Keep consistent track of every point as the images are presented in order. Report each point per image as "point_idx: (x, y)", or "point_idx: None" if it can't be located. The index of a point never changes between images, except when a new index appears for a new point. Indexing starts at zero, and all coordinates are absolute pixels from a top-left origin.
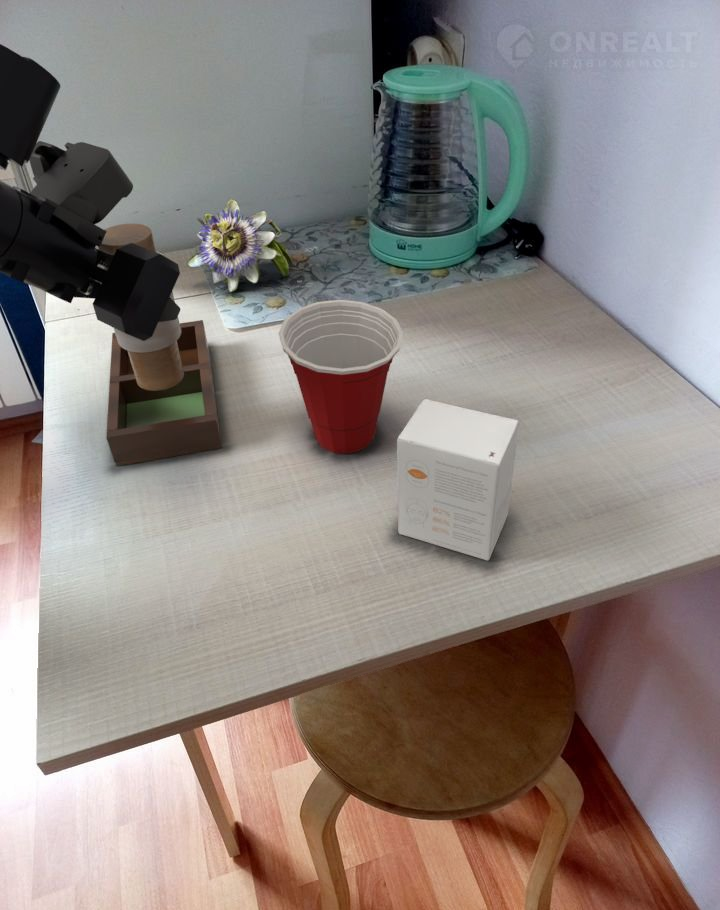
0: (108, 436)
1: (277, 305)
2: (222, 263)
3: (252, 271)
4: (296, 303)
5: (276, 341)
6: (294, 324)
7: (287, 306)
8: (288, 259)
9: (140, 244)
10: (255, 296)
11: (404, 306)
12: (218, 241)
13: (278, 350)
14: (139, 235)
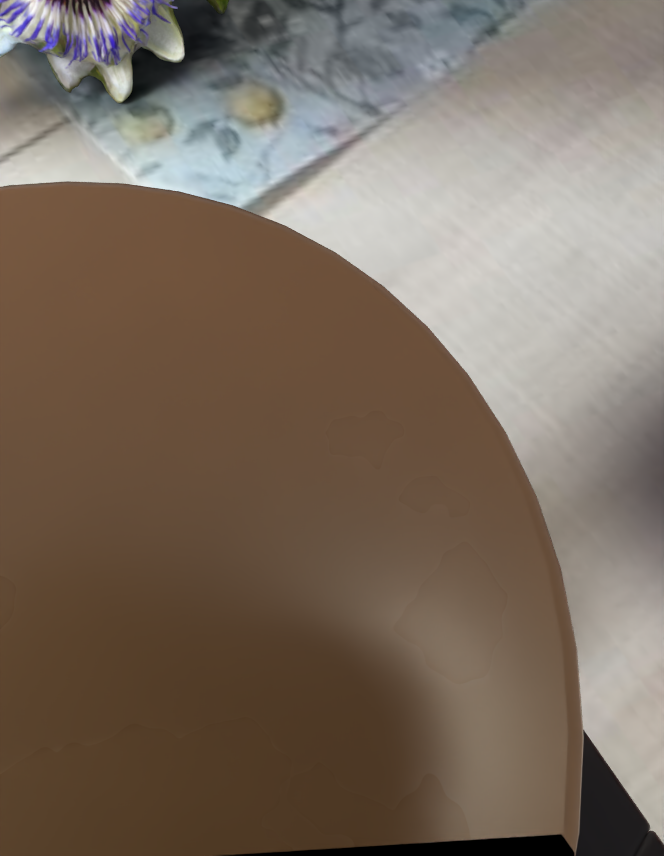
0: None
1: (266, 113)
2: (77, 26)
3: (160, 27)
4: (308, 93)
5: (349, 237)
6: None
7: (293, 109)
8: None
9: (548, 848)
10: (191, 98)
11: (561, 32)
12: None
13: (376, 267)
14: (360, 589)
